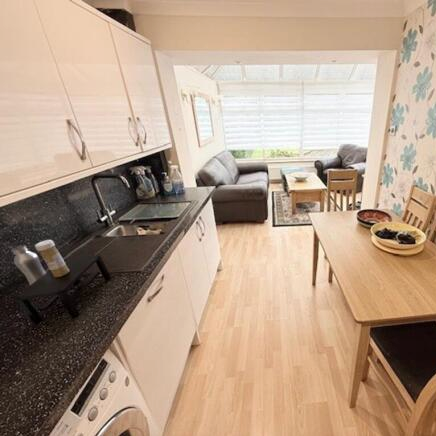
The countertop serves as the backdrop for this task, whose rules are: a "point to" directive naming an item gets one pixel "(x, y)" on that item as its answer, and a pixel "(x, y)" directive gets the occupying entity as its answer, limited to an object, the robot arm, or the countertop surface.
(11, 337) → the countertop surface
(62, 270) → the sprinkles bottle
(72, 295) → the stand
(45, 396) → the countertop surface
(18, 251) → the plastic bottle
